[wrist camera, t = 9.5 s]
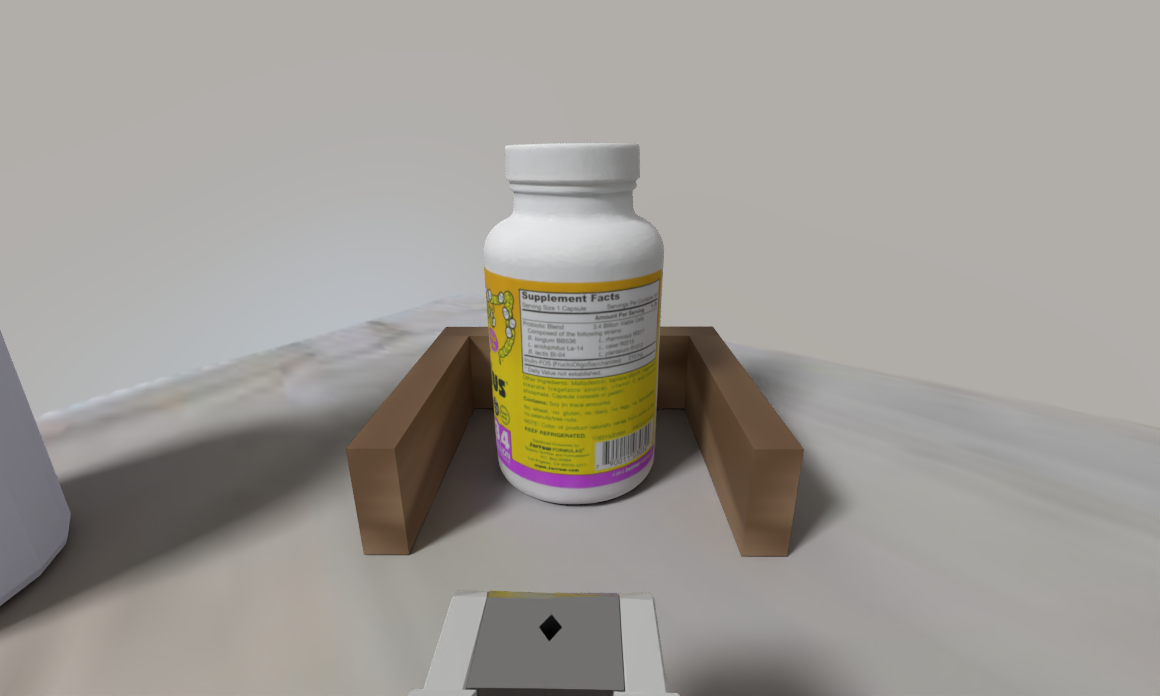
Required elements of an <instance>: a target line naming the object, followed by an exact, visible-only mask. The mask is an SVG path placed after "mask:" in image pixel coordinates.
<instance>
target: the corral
mask: <svg viewBox="0 0 1160 696" xmlns="http://www.w3.org/2000/svg"><path fill="white" fill-rule="evenodd" d="M474 408H494V401H493V389H492V374H491V357H490V343H489V327H446V328H445V329H444V330H443V331H442V333H441V334H440V335H439V336H438V337H437V339H436V340H435V341H434V342H433V343H432V345H431V346H430V347H429V348H428V350H427V351H426V352H425V353H424V354H423V356H422V357H421V358H420V359H419V360H418V362H417V363H416V364H415V365H414V367H413V368H412V369H411V370H410V371H409V373H408V374H407V375H406V376H405V377H404V379H403V380H402V381H401V382H400V383H399V385H398V386H397V387H396V388H395V390H394V391H393V392H392V393H391V394H390V396H389V397H388V398H387V399H386V400H385V402H384V403H383V404H382V405H381V406H380V408H379V409H378V410H377V411H376V413H375V414H374V415H373V416H372V417H371V419H370V420H369V421H368V422H367V423H366V425H365V426H364V427H363V428H362V429H361V431H360V432H359V433H358V434H357V436H356V437H355V438H354V439H353V440H352V442H351V443H350V444H349V445H348V446H347V448H346V453H347V459H348V465H349V470H350V476H351V482H352V488H353V494H354V499H355V505H356V511H357V517H358V523H359V528H360V534H361V540H362V546H363V552H364V554H398V555H409V553H410V551H411V549H412V547H413V544H414V542H415V540H416V538H417V535H418V533H419V531H420V529H421V526H422V524H423V522H424V520H425V517H426V515H427V513H428V511H429V509H430V506H431V504H432V502H433V500H434V497H435V495H436V493H437V491H438V488H439V486H440V484H441V482H442V479H443V477H444V475H445V473H446V470H447V468H448V466H449V464H450V462H451V459H452V457H453V455H454V453H455V450H456V448H457V446H458V444H459V441H460V439H461V437H462V435H463V432H464V430H465V428H466V426H467V424H468V421H469V419H470V417H471V415H472V412H473V410H474ZM657 408H684V409H685V411H686V414H687V417H688V419H689V422H690V424H691V427H692V429H693V432H694V435H695V437H696V440H697V442H698V445H699V448H700V450H701V453H702V455H703V458H704V460H705V463H706V466H707V468H708V471H709V473H710V476H711V478H712V481H713V484H714V486H715V489H716V491H717V494H718V497H719V499H720V502H721V504H722V507H723V509H724V512H725V515H726V517H727V520H728V522H729V525H730V527H731V530H732V533H733V535H734V538H735V540H736V543H737V546H738V548H739V551H740V553H741V556H787V555H788V548H789V542H790V535H791V529H792V522H793V516H794V509H795V503H796V496H797V490H798V483H799V477H800V470H801V464H802V457H803V451H804V449H803V448H802V446H801V445H800V444H799V442H798V441H797V440H796V438H795V437H794V436H793V434H792V433H791V432H790V430H789V429H788V427H787V426H786V425H785V423H784V422H783V421H782V419H781V418H780V417H779V415H778V414H777V413H776V411H775V410H774V409H773V407H772V406H771V405H770V403H769V402H768V400H767V399H766V398H765V396H764V395H763V394H762V392H761V391H760V390H759V388H758V387H757V386H756V384H755V383H754V382H753V380H752V379H751V378H750V376H749V375H748V374H747V372H746V371H745V369H744V368H743V367H742V365H741V364H740V363H739V361H738V360H737V359H736V357H735V356H734V355H733V353H732V352H731V351H730V349H729V348H728V347H727V345H726V344H725V342H724V341H723V340H722V338H721V337H720V336H719V334H718V333H717V332H716V330H715V329H714V328H713V327H660V341H659V364H658V388H657Z"/></svg>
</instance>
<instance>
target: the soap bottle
mask: <svg viewBox="0 0 1160 696" xmlns="http://www.w3.org/2000/svg"><path fill="white" fill-rule="evenodd" d="M70 515H71V512H70V510H69V507H68V505H67V502H66V499H65V497H64V494H63V492H62V489H61V486H60V484H59V481H58V479H57V476H56V473H55V471H54V468H53V466H52V463H51V461H50V458H49V455H48V453H47V450H46V448H45V445H44V442H43V440H42V437H41V435H40V432H39V429H38V427H37V424H36V422H35V419H34V416H33V414H32V411H31V409H30V406H29V404H28V401H27V398H26V396H25V393H24V391H23V388H22V385H21V383H20V380H19V378H18V375H17V372H16V370H15V367H14V365H13V362H12V359H11V357H10V354H9V352H8V349H7V347H6V344H5V342H4V339H3V336H2V334H1V331H0V606H1V605H2V604H3V603H5V602H6V601H7V600H9V599H10V598H11V597H13V596H14V595H15V594H16V593H18V592H19V591H20V590H22V589H23V588H24V587H26V586H27V585H28V584H30V583H31V582H32V581H33V580H35V579H36V578H37V577H39V576H40V575H41V574H42V573H43V571H44V570H45V569H46V568H47V566H48V565H49V564H50V563H51V561H52V560H53V559H54V558H55V557H56V555H57V554H58V553H59V552H60V550H61V549H62V548H63V547H64V546H65V544H66V542H67V537H68V531H69V523H70Z"/></svg>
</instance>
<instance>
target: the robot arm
mask: <svg viewBox="0 0 1160 696" xmlns="http://www.w3.org/2000/svg"><path fill="white" fill-rule="evenodd" d="M406 696H681V695H680V694H679V693H668V690H667V683H666V676H665V669H664V663H663V656H662V649H661V642H660V635H659V629H658V622H657V615H656V608H655V602H654V597H653V596H652V594H651V593H619V595H618V593H532V592H507V591H490V592H485V591H463V590H457V592H456V593H455V595H454V596H453V598H452V600H451V603H450V606H449V609H448V612H447V615H446V619H445V622H444V625H443V628H442V631H441V634H440V638H439V641H438V644H437V647H436V650H435V653H434V657H433V660H432V663H431V666H430V669H429V672H428V676H427V679H426V682H425V685H424V688H423V689H412V690H411V691H410V692H409V693H408V694H407V695H406Z"/></svg>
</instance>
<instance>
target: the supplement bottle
mask: <svg viewBox="0 0 1160 696" xmlns="http://www.w3.org/2000/svg"><path fill="white" fill-rule="evenodd" d="M639 150H640V149H639V145H638V144H632V143H569V144H567V143H566V144H522V145H508V146H506V147H505V161H506V163H505V164H506V180H508V181H509V182H510V190H512V191H514V210H513V214H512V215H511V216H510V217H509V218H507V219H505V220H503V221H501V222H500V223H498V224H497V225H496V226H495V227H494V228H493V229H492V230H491V231H490V233H489V234H488V236H487V239H486V241H485V245H484V252H483V253H484V271H485V285H486V299H487V313H488V327H489V343H490V357H491V374H492V389H493V401H494V417H495V432H496V445H497V454H498V461H499V466H500V468H501V471H502V472H503V474H504V476H505V477H506V479H507V480H508V481H509V482H510V483H511V484H512V485H513V486H514V487H515V488H517V489H518V490H520V491H521V492H523V493H525V494H527V495H529V496H531V497H534V498H537V499H540V500H543V501H547V502H552V503H559V504H586V503H596V502H602V501H606V500H610V499H613V498H616V497H618V496H621V495H623V494H625V493H627V492H629V491H630V490H632V489H634V488H635V487H636V486H637V485H639V484H640V483H641V482H642V481H643V480H644V479H645V478H646V476H647V475H648V473H649V471H650V470H651V467H652V465H653V461H654V451H655V433H656V412H657V388H658V364H659V341H660V317H661V296H662V277H663V259H664V248H663V242H662V239H661V236H660V234H659V232H658V231H657V229H656V228H655V227H654V226H653V225H652V224H651V223H650V222H648V221H647V220H645V219H644V218H642V217H640V216H638V215H637V214H635V212H634V209H633V196H632V191H633V190H634V189H635V188H636V180H637V179H638V178H639V177H640V168H639V166H640V163H639V162H640V159H639V157H640V156H639V155H640V152H639Z"/></svg>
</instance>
